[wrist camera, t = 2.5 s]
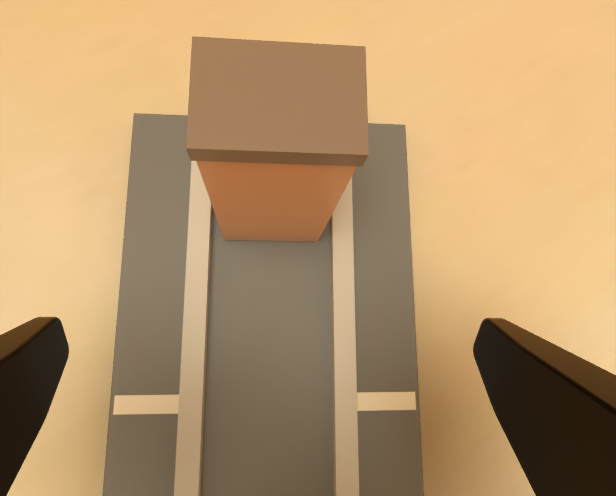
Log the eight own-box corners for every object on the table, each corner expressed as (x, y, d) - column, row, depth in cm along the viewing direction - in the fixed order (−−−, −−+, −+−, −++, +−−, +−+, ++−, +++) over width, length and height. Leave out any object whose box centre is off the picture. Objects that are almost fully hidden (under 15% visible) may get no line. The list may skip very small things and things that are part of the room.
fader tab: (319, 243, 23) (368, 154, 12) (222, 242, 22) (185, 148, 12) (319, 181, 23) (365, 46, 13) (224, 178, 23) (192, 36, 12)
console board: (423, 632, 21) (441, 666, 19) (97, 652, 19) (76, 690, 17) (399, 133, 26) (412, 113, 24) (139, 122, 24) (127, 101, 22)
